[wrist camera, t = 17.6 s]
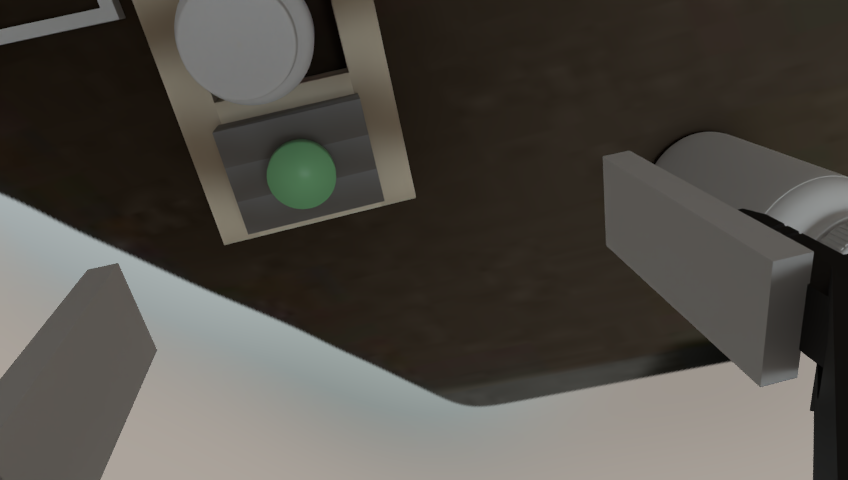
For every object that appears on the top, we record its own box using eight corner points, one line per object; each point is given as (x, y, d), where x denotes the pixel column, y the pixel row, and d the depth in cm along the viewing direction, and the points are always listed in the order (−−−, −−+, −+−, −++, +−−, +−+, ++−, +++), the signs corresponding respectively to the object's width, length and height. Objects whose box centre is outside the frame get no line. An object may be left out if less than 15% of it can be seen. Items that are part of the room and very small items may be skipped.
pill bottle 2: (649, 250, 43) (801, 367, 30) (634, 151, 40) (797, 231, 26) (747, 215, 44) (942, 315, 30) (741, 113, 40) (956, 174, 27)
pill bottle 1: (243, 100, 35) (212, 145, 24) (182, 0, 32) (119, 3, 22) (334, 53, 34) (341, 79, 24) (280, -52, 32) (262, -72, 22)
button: (262, 140, 32) (257, 152, 30) (325, 125, 33) (326, 136, 30) (281, 199, 34) (278, 216, 31) (341, 184, 34) (343, 200, 32)
